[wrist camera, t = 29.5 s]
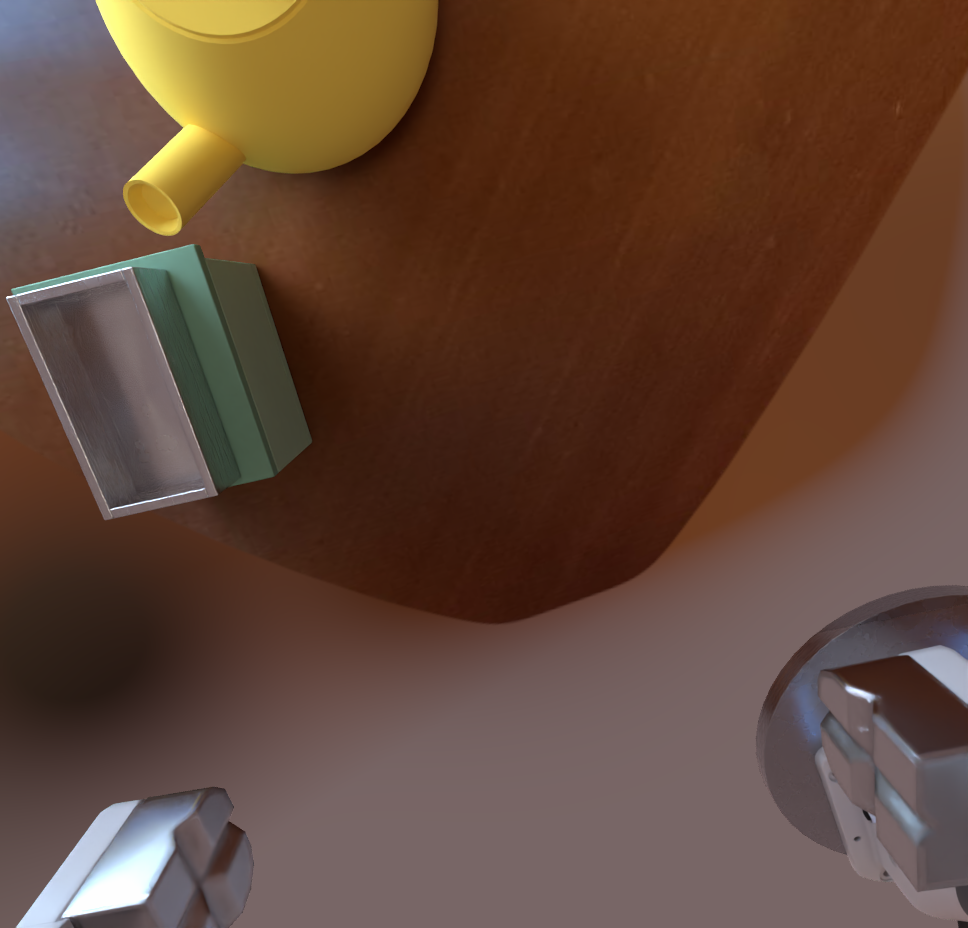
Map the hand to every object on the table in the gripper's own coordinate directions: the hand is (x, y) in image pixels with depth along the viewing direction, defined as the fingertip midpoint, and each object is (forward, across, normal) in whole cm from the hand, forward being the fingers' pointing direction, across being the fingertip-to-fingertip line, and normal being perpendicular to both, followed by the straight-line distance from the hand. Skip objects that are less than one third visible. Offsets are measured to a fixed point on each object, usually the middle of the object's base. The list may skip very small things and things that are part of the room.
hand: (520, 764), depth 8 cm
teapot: (+31, +7, -20) cm, 38 cm away
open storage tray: (+24, +17, -5) cm, 29 cm away
